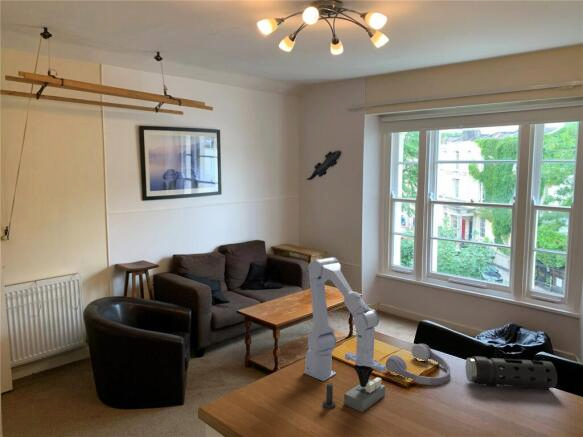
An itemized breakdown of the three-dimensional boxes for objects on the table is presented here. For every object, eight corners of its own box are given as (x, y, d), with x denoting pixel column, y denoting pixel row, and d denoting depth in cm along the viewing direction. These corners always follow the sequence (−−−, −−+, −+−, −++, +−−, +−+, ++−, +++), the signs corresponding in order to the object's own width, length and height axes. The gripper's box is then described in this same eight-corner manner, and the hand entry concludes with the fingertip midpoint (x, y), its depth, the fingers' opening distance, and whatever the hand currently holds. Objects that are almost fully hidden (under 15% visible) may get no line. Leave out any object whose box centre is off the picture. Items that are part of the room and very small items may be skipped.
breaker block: (344, 403, 142) (344, 385, 142) (367, 388, 153) (367, 371, 152) (362, 412, 138) (362, 393, 137) (384, 395, 148) (385, 377, 147)
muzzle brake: (556, 396, 149) (558, 367, 148) (471, 391, 152) (473, 362, 151) (543, 383, 159) (545, 356, 157) (463, 378, 162) (465, 351, 160)
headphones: (382, 371, 166) (429, 395, 151) (384, 354, 165) (431, 376, 150) (415, 355, 180) (460, 376, 166) (417, 339, 179) (463, 358, 165)
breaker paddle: (366, 391, 143) (366, 384, 142) (370, 387, 145) (371, 380, 145) (370, 392, 142) (370, 385, 141) (375, 389, 144) (375, 382, 144)
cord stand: (320, 405, 141) (321, 385, 140) (328, 400, 144) (328, 380, 143) (330, 410, 139) (331, 389, 138) (337, 405, 142) (338, 384, 141)
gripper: (340, 344, 145) (338, 382, 147) (378, 357, 136) (376, 398, 137) (352, 338, 151) (350, 375, 152) (389, 350, 141) (387, 390, 142)
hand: (363, 385), depth 145 cm, fingers closed
